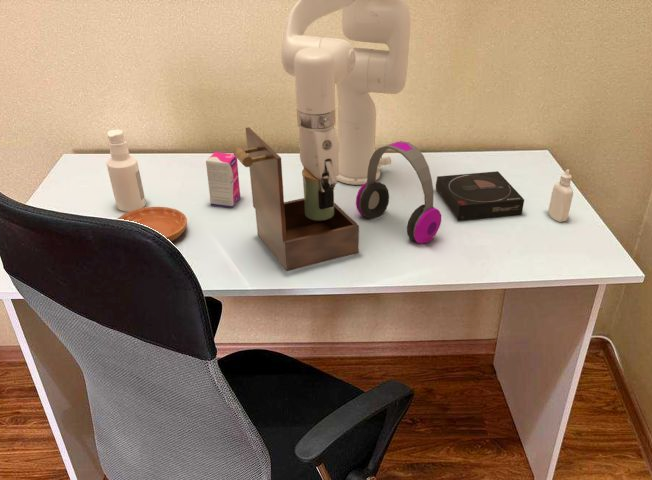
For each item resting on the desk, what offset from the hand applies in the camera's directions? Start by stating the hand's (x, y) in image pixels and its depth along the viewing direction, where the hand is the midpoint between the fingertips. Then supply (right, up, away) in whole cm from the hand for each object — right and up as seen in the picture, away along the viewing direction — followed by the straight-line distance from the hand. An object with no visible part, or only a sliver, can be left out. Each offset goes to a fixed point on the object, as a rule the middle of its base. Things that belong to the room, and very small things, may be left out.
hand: (319, 199), depth 141 cm
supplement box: (-24, +4, +21) cm, 33 cm away
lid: (-10, +1, -8) cm, 13 cm away
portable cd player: (+38, +5, +24) cm, 45 cm away
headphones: (+17, -4, +13) cm, 22 cm away
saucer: (-38, -6, +8) cm, 40 cm away
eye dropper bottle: (+56, 0, +19) cm, 59 cm away
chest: (-3, -9, +5) cm, 11 cm away
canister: (0, -3, +2) cm, 3 cm away
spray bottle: (-47, +3, +18) cm, 50 cm away
